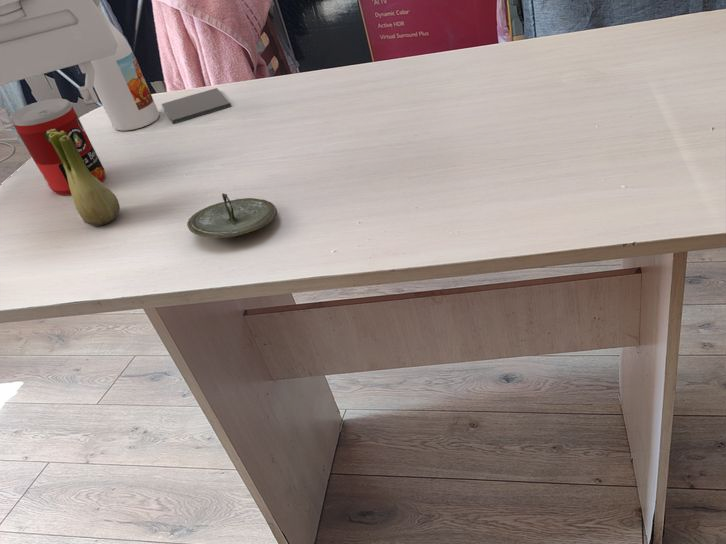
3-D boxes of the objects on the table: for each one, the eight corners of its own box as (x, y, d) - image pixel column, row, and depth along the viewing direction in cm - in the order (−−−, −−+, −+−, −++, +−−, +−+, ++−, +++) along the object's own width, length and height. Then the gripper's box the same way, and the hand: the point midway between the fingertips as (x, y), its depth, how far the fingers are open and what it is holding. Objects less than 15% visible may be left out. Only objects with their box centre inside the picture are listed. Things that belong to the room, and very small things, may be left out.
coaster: (173, 123, 112) (171, 120, 112) (162, 107, 119) (161, 103, 119) (231, 106, 115) (230, 102, 115) (218, 91, 122) (216, 87, 122)
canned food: (81, 198, 94) (39, 122, 87) (39, 194, 97) (-5, 120, 90) (119, 172, 99) (82, 98, 92) (78, 169, 102) (40, 97, 95)
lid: (188, 262, 80) (169, 232, 76) (206, 203, 86) (189, 172, 82) (274, 257, 80) (260, 227, 75) (287, 198, 85) (275, 167, 81)
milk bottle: (131, 134, 111) (70, 2, 97) (104, 128, 114) (42, 0, 101) (169, 115, 115) (115, -13, 102) (142, 110, 119) (87, -15, 106)
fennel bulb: (87, 214, 90) (39, 128, 82) (125, 204, 91) (81, 118, 83) (84, 234, 86) (33, 145, 78) (124, 224, 87) (77, 134, 79)
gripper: (81, -43, 75) (136, 82, 84) (-124, 4, 69) (-42, 133, 78) (86, -35, 71) (144, 95, 80) (-133, 15, 65) (-44, 150, 74)
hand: (51, 114), depth 79 cm, fingers open, 8 cm apart
